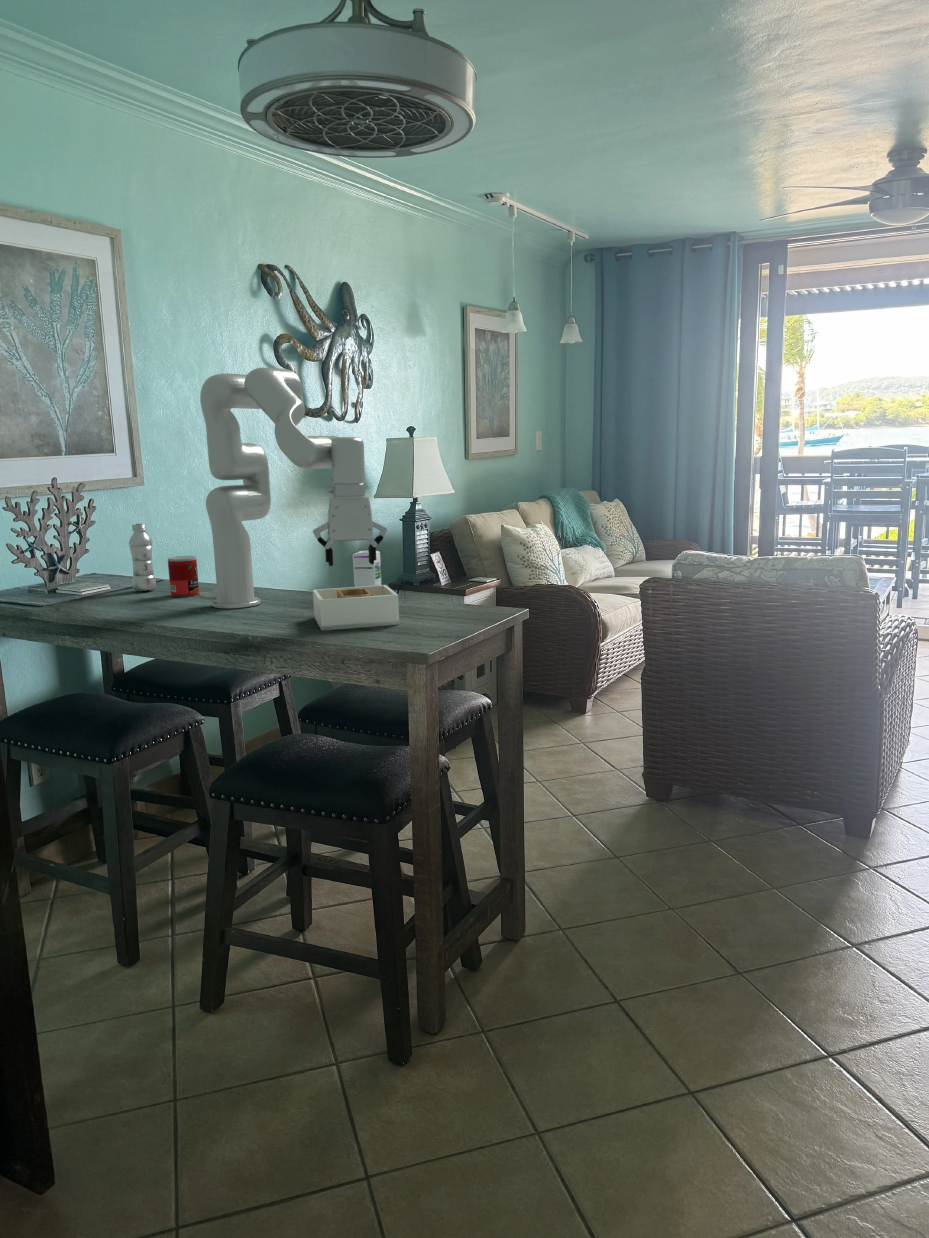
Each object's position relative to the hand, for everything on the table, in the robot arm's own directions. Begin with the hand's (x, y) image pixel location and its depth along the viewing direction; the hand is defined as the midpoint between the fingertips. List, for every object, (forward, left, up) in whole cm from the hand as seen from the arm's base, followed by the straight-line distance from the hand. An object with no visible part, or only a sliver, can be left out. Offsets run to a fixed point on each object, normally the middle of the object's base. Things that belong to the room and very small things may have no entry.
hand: (351, 564), depth 209 cm
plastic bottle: (-53, +71, -14) cm, 89 cm away
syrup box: (+6, +17, -14) cm, 23 cm away
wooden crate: (0, 0, -13) cm, 13 cm away
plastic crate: (0, 0, -14) cm, 14 cm away
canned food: (-41, +58, -14) cm, 72 cm away
